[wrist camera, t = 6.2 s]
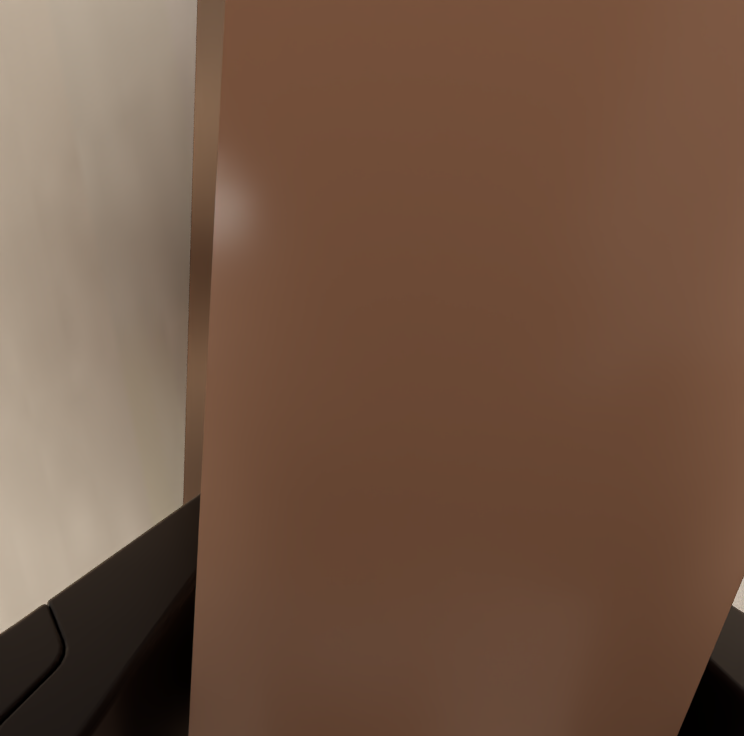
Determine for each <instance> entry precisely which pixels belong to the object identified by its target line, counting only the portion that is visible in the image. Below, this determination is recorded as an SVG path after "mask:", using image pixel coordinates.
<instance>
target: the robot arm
mask: <svg viewBox="0 0 744 736" xmlns="http://www.w3.org/2000/svg"><path fill="white" fill-rule="evenodd" d="M200 495H201V493H200V494H198V495H197V496H196V497H194V498H193V499H191V500H190V501H189V502H187V503H186V504H184V505H183V506H182V507H180V508H179V509H177V510H176V511H174V512H173V513H172V514H170V515H169V516H167V517H166V518H165V519H163V520H162V521H160V522H159V523H158V524H156V525H155V526H153V527H152V528H150V529H149V530H148V531H146V532H145V533H143V534H142V535H141V536H139V537H138V538H136V539H135V540H133V541H132V542H131V543H129V544H128V545H126V546H125V547H124V548H122V549H121V550H119V551H118V552H117V553H115V554H114V555H112V556H111V557H109V558H108V559H107V560H105V561H104V562H102V563H101V564H100V565H98V566H97V567H95V568H94V569H93V570H91V571H90V572H88V573H87V574H85V575H84V576H83V577H81V578H80V579H78V580H77V581H76V582H74V583H73V584H71V585H70V586H68V587H67V588H66V589H64V590H63V591H61V592H60V593H59V594H57V595H56V596H54V597H53V598H52V599H50V600H49V601H48V603H47V605H46V604H44V605H41V606H40V607H38V608H37V609H36V610H34V611H33V612H31V613H30V614H29V615H27V616H26V617H24V618H23V619H21V620H20V621H19V622H17V623H16V624H14V625H13V626H11V627H10V628H8V629H7V630H5V631H4V632H2V633H1V634H0V736H188V735H189V715H190V695H191V675H192V655H193V635H194V615H195V595H196V575H197V555H198V535H199V515H200ZM677 736H744V613H743V612H742V611H740V610H738V609H737V608H735V607H734V606H731V608H730V610H729V613H728V615H727V618H726V620H725V622H724V625H723V627H722V630H721V632H720V634H719V637H718V639H717V642H716V644H715V646H714V649H713V651H712V654H711V656H710V658H709V661H708V663H707V666H706V668H705V670H704V673H703V675H702V678H701V680H700V682H699V685H698V687H697V690H696V692H695V694H694V697H693V699H692V701H691V704H690V706H689V709H688V711H687V713H686V716H685V718H684V721H683V723H682V725H681V728H680V730H679V733H678V735H677Z"/></svg>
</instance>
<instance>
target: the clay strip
mask: <svg viewBox="0 0 744 736" xmlns="http://www.w3.org/2000/svg"><path fill="white" fill-rule="evenodd" d="M743 577H744V0H225V15H224V35H223V55H222V75H221V95H220V115H219V135H218V155H217V175H216V195H215V215H214V235H213V255H212V275H211V295H210V315H209V335H208V355H207V375H206V395H205V415H204V435H203V455H202V475H201V495H200V515H199V535H198V555H197V575H196V595H195V615H194V635H193V655H192V675H191V695H190V715H189V735H188V736H677V735H678V733H679V730H680V728H681V725H682V723H683V721H684V718H685V716H686V713H687V711H688V709H689V706H690V704H691V701H692V699H693V697H694V694H695V692H696V690H697V687H698V685H699V682H700V680H701V678H702V675H703V673H704V670H705V668H706V666H707V663H708V661H709V658H710V656H711V654H712V651H713V649H714V646H715V644H716V642H717V639H718V637H719V634H720V632H721V630H722V627H723V625H724V622H725V620H726V618H727V615H728V613H729V610H730V608H731V606H732V603H733V601H734V599H735V596H736V594H737V591H738V589H739V587H740V584H741V582H742V579H743Z"/></svg>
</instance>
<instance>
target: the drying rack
mask: <svg viewBox="0 0 744 736" xmlns="http://www.w3.org/2000/svg"><path fill="white" fill-rule="evenodd" d="M224 15H225V0H197V36H196V71H195V107H194V142H193V178H192V213H191V249H190V285H189V320H188V356H187V391H186V427H185V462H184V498H183V505H184V504H186V503H187V502H189V501H190V500H191V499H193V498H194V497H196V496H197V495H198V494H200V493H201V475H202V455H203V435H204V415H205V395H206V375H207V355H208V335H209V315H210V295H211V275H212V255H213V235H214V215H215V195H216V175H217V155H218V135H219V115H220V95H221V75H222V55H223V35H224Z"/></svg>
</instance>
